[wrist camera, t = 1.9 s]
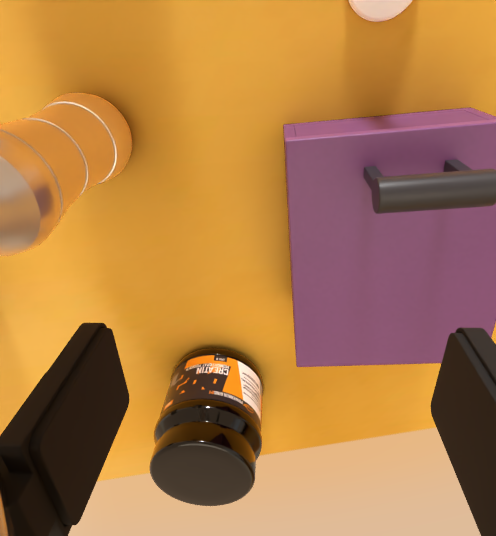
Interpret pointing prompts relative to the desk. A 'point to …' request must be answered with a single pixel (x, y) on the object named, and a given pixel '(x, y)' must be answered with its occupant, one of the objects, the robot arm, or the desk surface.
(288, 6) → the desk surface
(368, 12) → the chess piece
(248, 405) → the supplement container
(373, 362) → the lid
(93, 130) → the plastic bottle
